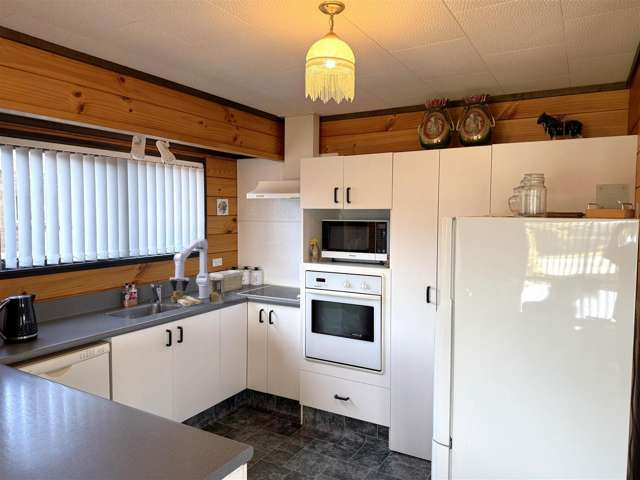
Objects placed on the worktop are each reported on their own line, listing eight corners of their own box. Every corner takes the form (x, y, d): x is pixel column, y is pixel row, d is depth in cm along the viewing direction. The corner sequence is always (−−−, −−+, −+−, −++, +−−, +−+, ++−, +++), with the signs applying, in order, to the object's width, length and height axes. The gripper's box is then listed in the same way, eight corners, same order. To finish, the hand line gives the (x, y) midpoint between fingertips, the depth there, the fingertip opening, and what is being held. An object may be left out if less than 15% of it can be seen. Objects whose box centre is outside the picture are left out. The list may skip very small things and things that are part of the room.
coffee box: (225, 302, 314) (224, 279, 313) (222, 304, 308) (221, 280, 307) (212, 302, 315) (211, 279, 314) (209, 304, 309) (208, 281, 308)
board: (189, 298, 331) (189, 296, 330) (202, 303, 312) (202, 300, 312) (173, 301, 323) (173, 298, 323) (185, 306, 304) (185, 303, 304)
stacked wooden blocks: (185, 299, 326) (184, 289, 326) (187, 300, 322) (187, 290, 322) (171, 301, 320) (170, 291, 319) (173, 302, 316) (173, 292, 315)
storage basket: (230, 286, 378) (229, 269, 377) (244, 288, 369) (243, 270, 368) (209, 291, 358) (208, 273, 357) (223, 293, 349) (222, 274, 348)
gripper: (167, 271, 304) (166, 291, 303) (185, 271, 299) (184, 291, 299) (173, 271, 311) (173, 290, 310) (191, 271, 306) (190, 291, 305)
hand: (179, 291), depth 305 cm, fingers open, 7 cm apart
